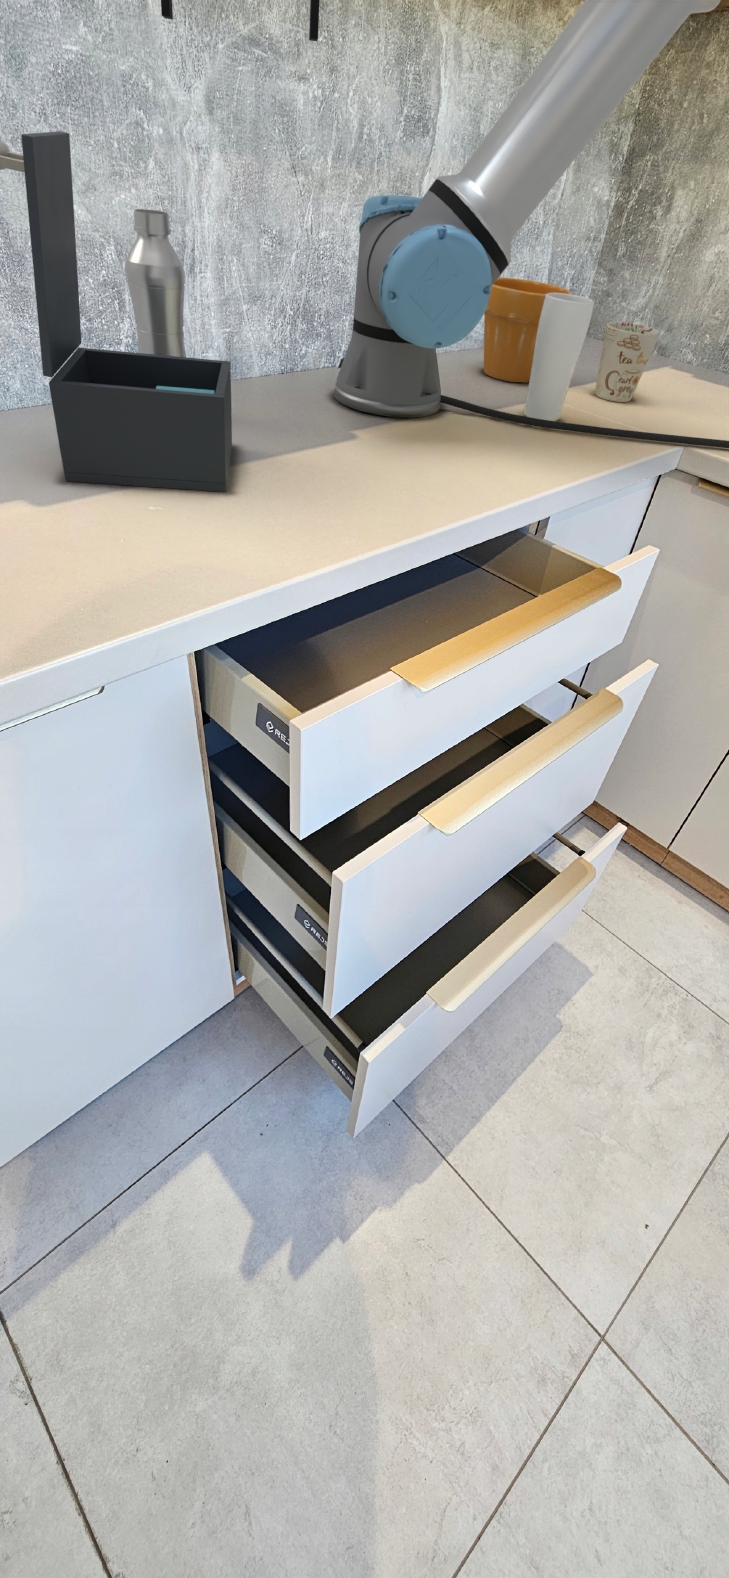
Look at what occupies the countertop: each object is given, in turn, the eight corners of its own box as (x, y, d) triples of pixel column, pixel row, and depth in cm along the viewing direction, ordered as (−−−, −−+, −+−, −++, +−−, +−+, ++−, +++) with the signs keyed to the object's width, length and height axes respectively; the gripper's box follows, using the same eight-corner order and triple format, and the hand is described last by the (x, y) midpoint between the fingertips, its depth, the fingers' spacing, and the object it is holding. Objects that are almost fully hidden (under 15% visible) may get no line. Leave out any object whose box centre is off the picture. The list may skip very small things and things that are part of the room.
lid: (69, 133, 66) (-5, 115, 65) (32, 136, 56) (-57, 115, 54) (81, 343, 77) (18, 331, 75) (52, 377, 67) (-22, 364, 65)
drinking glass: (514, 418, 106) (541, 296, 96) (522, 407, 111) (549, 290, 101) (559, 428, 105) (592, 305, 95) (566, 417, 110) (598, 299, 100)
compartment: (232, 447, 85) (230, 361, 79) (226, 492, 75) (223, 397, 69) (90, 436, 83) (78, 347, 77) (65, 481, 73) (48, 382, 67)
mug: (584, 397, 120) (603, 326, 113) (595, 382, 129) (613, 316, 122) (634, 407, 118) (657, 336, 112) (642, 391, 127) (664, 325, 121)
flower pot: (551, 374, 130) (572, 287, 122) (548, 392, 120) (571, 299, 111) (473, 360, 132) (489, 273, 123) (463, 378, 121) (480, 284, 113)
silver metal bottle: (182, 423, 89) (169, 218, 76) (129, 414, 90) (108, 209, 77) (201, 410, 94) (192, 214, 81) (151, 401, 95) (134, 205, 81)
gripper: (395, -319, 59) (368, 51, 73) (74, -390, 56) (110, 12, 70) (408, -363, 54) (375, 46, 68) (52, -445, 50) (97, 3, 64)
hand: (241, 29), depth 69 cm, fingers open, 13 cm apart
